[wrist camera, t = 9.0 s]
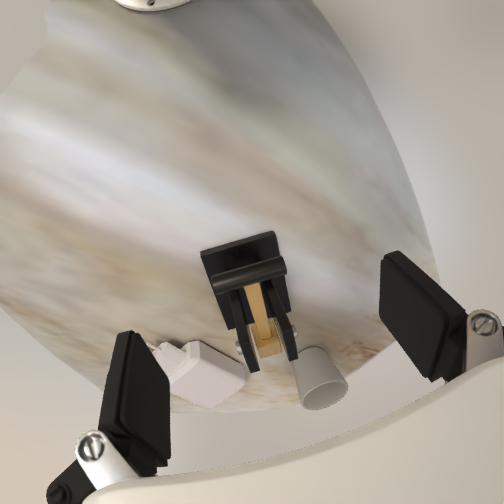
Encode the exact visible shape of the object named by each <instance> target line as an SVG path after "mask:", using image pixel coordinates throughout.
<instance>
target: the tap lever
mask: <svg viewBox="0 0 504 504" xmlns="http://www.w3.org/2000/svg"><path fill="white" fill-rule="evenodd" d="M285 274H287V269H286V265H285V262H284V259H283V257H282V256H278V257H275V258H271V259H268V260H265V261H261V262H258V263H254V264H251V265H248V266H244V267H241V268H237V269H234V270H230V271H227V272H224V273H220V274H217V275H213V276H211V281H212V285H213V289H214V291H215V293H216V295H218V294H221V293H225V292H228V291H232V290H235V289H238V288H242V287H244V289H245V292H246V295H247V298H248V302H249V305H250V308H251V311H252V314H253V317H254V320H255V324H256V326H253V327H251V329H252V332H253V336H254V339H255V343H256V346H257V350H258V352H259V355H260V357H261V358H264V357H268V356H271V355H274V354H278V353H281V352H282V351H281V345H280V341H279V338H278V335H277V332H276V329H275V326H274V323H273V321H270V322H268V317H267V313H266V309H265V304H264V300H263V296H262V292H261V287H260V283H259V282H262V281H266V280H269V279H272V278H275V277H279V276H282V275H285Z"/></svg>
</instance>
